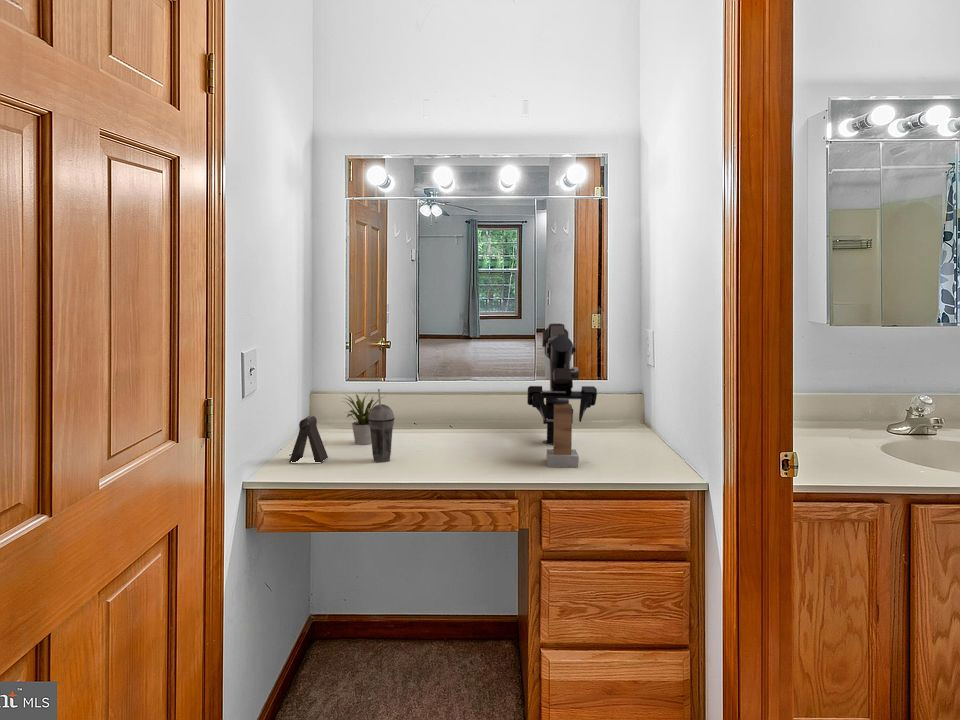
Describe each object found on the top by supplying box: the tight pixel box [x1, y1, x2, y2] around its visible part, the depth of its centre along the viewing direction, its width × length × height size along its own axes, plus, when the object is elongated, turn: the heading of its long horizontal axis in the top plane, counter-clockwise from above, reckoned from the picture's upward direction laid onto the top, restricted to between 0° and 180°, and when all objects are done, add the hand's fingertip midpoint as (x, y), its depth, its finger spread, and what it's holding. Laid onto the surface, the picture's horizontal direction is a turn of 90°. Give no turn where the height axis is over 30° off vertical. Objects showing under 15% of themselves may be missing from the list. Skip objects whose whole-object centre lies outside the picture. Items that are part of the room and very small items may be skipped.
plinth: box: [545, 448, 580, 468], centre depth 183 cm, size 8×8×3 cm
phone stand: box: [288, 415, 329, 463], centre depth 186 cm, size 9×6×12 cm, turn 86°
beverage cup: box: [368, 388, 396, 463], centre depth 186 cm, size 7×7×20 cm
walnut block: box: [552, 403, 573, 455], centre depth 182 cm, size 4×4×13 cm
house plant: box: [341, 391, 386, 446], centre depth 208 cm, size 14×14×16 cm
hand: (563, 420), depth 181 cm, fingers open, 9 cm apart
